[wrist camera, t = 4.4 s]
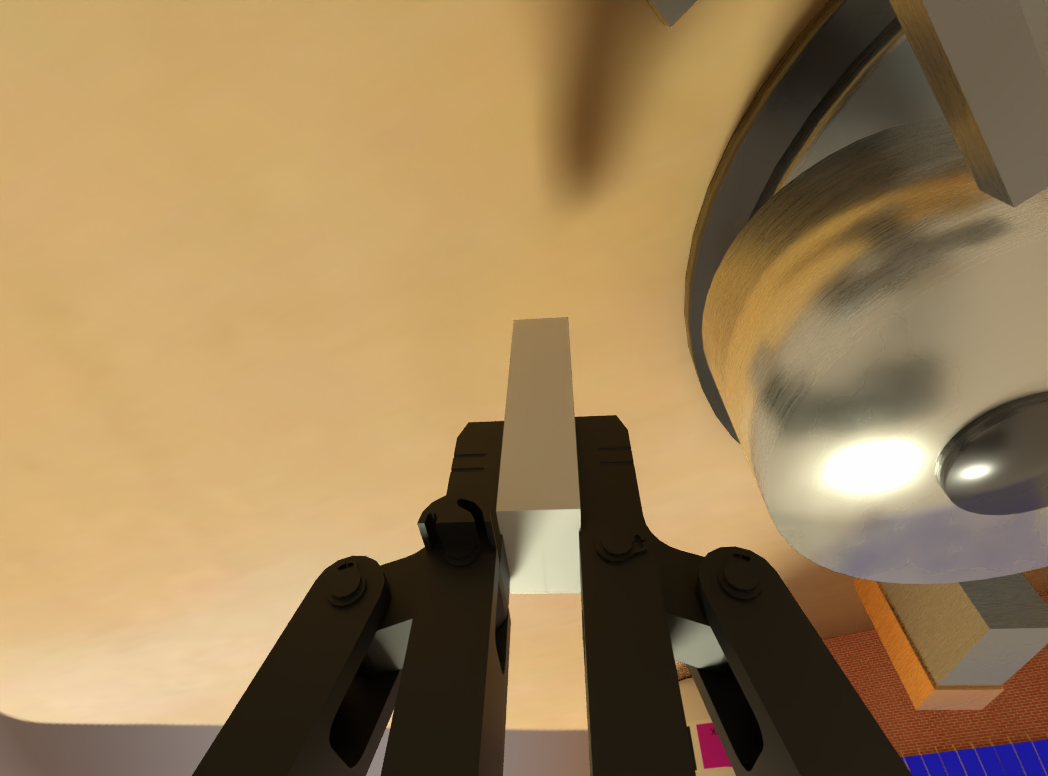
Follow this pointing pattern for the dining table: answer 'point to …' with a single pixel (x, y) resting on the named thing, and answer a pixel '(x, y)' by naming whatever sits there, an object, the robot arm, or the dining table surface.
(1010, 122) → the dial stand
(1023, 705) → the house
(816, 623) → the dining table surface
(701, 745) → the supplement can
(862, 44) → the turntable base
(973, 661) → the turntable
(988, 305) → the cover
